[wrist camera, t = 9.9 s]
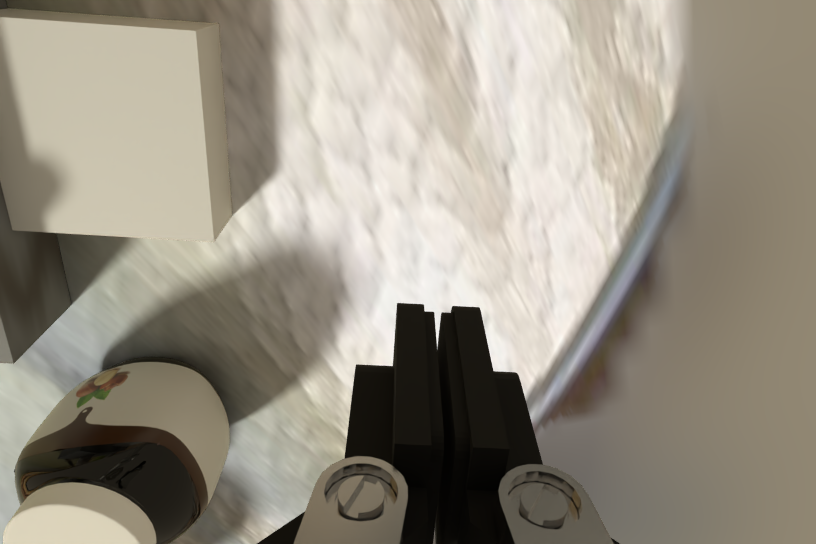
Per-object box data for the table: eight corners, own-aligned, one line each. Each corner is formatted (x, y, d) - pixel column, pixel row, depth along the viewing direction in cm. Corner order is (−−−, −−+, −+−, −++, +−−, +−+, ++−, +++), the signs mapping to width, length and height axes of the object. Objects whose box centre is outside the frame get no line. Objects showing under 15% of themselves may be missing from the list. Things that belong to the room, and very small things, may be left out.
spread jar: (217, 340, 38) (145, 484, 27) (266, 473, 43) (221, 636, 32) (36, 367, 39) (-101, 516, 28) (105, 494, 44) (11, 659, 33)
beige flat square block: (13, 7, 29) (-42, 14, 26) (220, 22, 30) (195, 30, 26) (53, 202, 34) (12, 230, 30) (233, 213, 34) (213, 242, 31)
